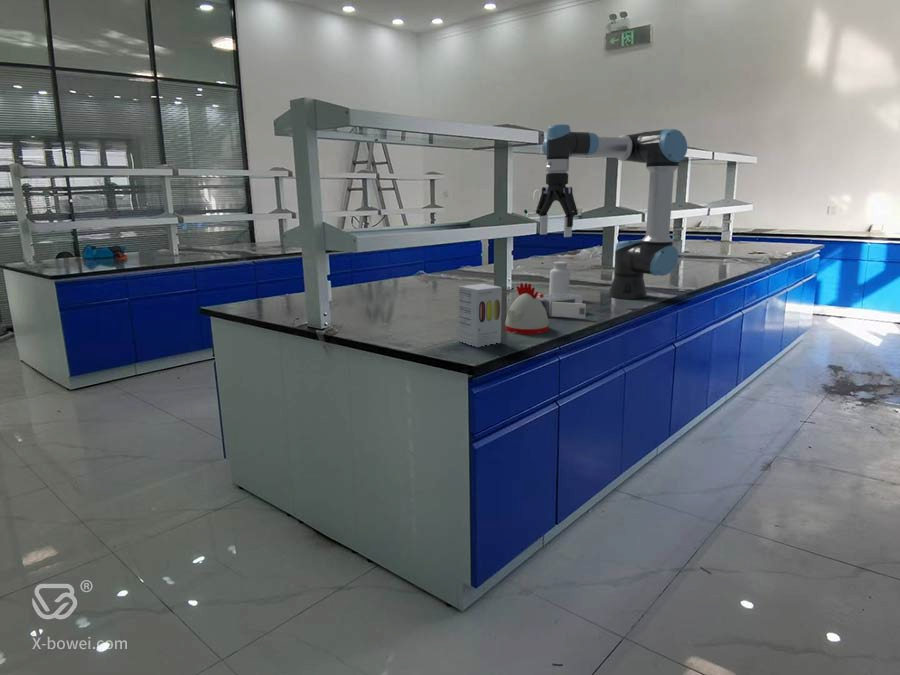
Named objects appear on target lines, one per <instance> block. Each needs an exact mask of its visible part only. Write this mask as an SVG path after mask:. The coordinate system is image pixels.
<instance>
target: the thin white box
mask: <svg viewBox="0 0 900 675" xmlns="http://www.w3.org/2000/svg"><path fill="white" fill-rule="evenodd" d="M586 306H587V303H582V304H581V303H563V302H553V301H549V317H548V318H551V317H552V318H553V317H557V318H571V319H586V310H587V307H586Z"/></svg>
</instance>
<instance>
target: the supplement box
mask: <svg viewBox="0 0 900 675" xmlns="http://www.w3.org/2000/svg"><path fill="white" fill-rule="evenodd" d="M502 293H503V288H502V286H498V285H492V284H488V283H478V284H469V285H459V286H458V342H459V341H460V342H459V343H462V342H463V344H465V343H466V344H465V345H469V346H471V345H472V346H471V347H474V346H475V347H474V348H481V346H482V347H486V346H485V345H487V346H491V345H490V344H493V345H497V344H496V343H498V344H501V342H502V341H501V340H502V304H503V303H502V302H503V300H502V295H503V294H502Z"/></svg>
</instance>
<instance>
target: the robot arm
mask: <svg viewBox="0 0 900 675" xmlns="http://www.w3.org/2000/svg"><path fill="white" fill-rule="evenodd" d="M546 132H547V134H546V137H545V139H544V140H543V141H542V152H543V153H544V155H545V156H546V168H545V169H546V172H547V173H546V174H545V184H546V185H547V187H546V186H544V187H542V188H541V194H540V198H539V201H538V204H537V206H536V210H535V214H537V215H538V216H539V235H548V224H549V223H548V222H549V221H548V219H549V216H548V212H549V211H550V208H551V207H552V204H553V203H554V202H555V201H557V202H558V203H559V205H560V207H561V208H562V210H563V212H564V214H565V216H564V219H563V220H564V223H563V224H564V225H563V227H564V229H563V237H564V238H571V237H572V234H573V225H574V217H575V216H578V214H579V212H578V208H577V204H576V202H575V198H574V194H573V187H572V186H566V185H568V184H569V173H568V172H569V171H570V166H569V165H570V160H569V159H570V158H606V159H607V158H610V159H611V158H612V159H614V158H615V159H617V160H618V161H622V162H623V161H624V162H625V161H626V162H633V163H639V164H640V163H641V164H646V165H645V166H646V169H647V170H648V172H649V183H648V184H649V186H648V197H647V198H648V199H647V200H648V201H647V213H646V215H647V216H646V228H645V229H646V230H645V236H644V237H643V238H642V239H636V240H635V239H634V240H622V241H621V240H620V241H618V242H617V243H616V245H615V250H614V270H613V271H614V272H613V273H614V274H613V279H612V283H611V286H610V288H609V291H608V296H609V297H611V298H614V299H621V300H622V299H623V300H638V299H639V300H640V299H646V298H647V297H648V296H647V295H648V294H647V293H648V292H647V289H646V283H645V280H644V275H645V274H647V275H652V276H655V277H657V276H660V277H661V276H662V277H664V276H667V275H669V274H671V273H672V272H673V270H674V269H675V268H676V267H677V265H678V261H679V251H677V248H676V247H675V246H673V245H674V241H673V239H672V237H671V236H670V229H671V217H672V204H673V203H672V202H673V200H672V199H673V189H674V175H675V172H676V170H677V169H678V168H679V167H680V162H681V161H682V160H684V158H685V156H686V155H687V153H688V141H687V139H686V137H685V135H684V134H683V133H682V132H681V131H680V130H679V129H675V128H665V129H659V130H651V131H644V132H637V133H632V134H631V133H630V134H621V135H620V136H619V137H617V136H615V137H614V136H598V134H596V133H595V132H589V131H585V132H584V131H571V126H570V125H569V124H564V123H562V124H561V123H560V124H558V123H557V124H552V125H549V126H548V127H547V131H546Z"/></svg>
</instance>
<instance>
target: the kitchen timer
mask: <svg viewBox="0 0 900 675" xmlns="http://www.w3.org/2000/svg"><path fill="white" fill-rule="evenodd" d="M535 290H536V288H535V287H532V284H531V283H527V282H526V283H524V284H523V283H522V282H521V283H519V285H517V286H516V291H517V293H518V295H519V296H518V297H516V299H515V300H514V301H513V302H512V304H511V305H510V307H509V309H508V311H507V315H506V318H505V325H504V328H505V331H506V330H507V331H506V332H508V331H510V332H509V333H511V332H514V333H513V334H517V333H522V334H521V335H537V333H540V334H544V333H543V332H545V333H547V332H548V331H549V330H548V329H549V327H550V324H549V317H547V314H546V310H545V307H544V306H543V304H542V303H541V301H540V300H539V299H538V298H537V295H539V291H536V292H535ZM546 331H547V332H546Z"/></svg>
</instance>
